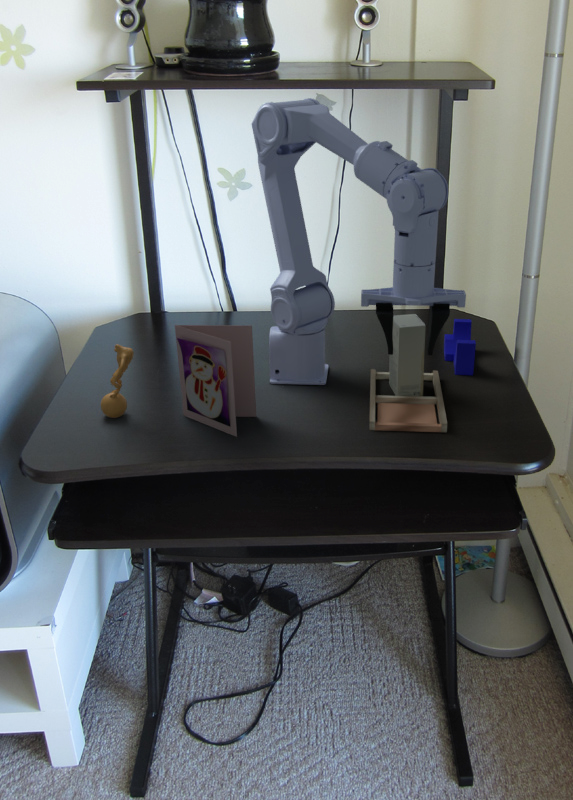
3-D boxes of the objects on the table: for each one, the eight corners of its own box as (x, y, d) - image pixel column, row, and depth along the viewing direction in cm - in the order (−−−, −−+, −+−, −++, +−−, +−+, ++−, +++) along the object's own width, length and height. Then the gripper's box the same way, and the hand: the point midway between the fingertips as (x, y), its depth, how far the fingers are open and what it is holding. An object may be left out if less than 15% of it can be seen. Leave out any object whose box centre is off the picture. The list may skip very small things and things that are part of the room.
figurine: (107, 405, 118) (97, 335, 113) (145, 403, 118) (136, 334, 113) (97, 429, 111) (85, 355, 106) (137, 428, 111) (127, 354, 106)
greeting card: (179, 418, 114) (170, 326, 107) (213, 401, 119) (206, 313, 112) (232, 439, 107) (226, 343, 100) (266, 421, 112) (262, 328, 105)
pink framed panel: (369, 430, 108) (369, 421, 108) (370, 377, 125) (370, 369, 125) (446, 432, 107) (447, 423, 106) (437, 378, 124) (437, 370, 124)
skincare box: (423, 397, 118) (427, 326, 113) (396, 399, 117) (399, 327, 112) (413, 381, 124) (416, 312, 118) (387, 383, 123) (389, 314, 118)
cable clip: (443, 349, 136) (445, 318, 134) (468, 350, 136) (471, 319, 133) (446, 375, 126) (448, 342, 123) (472, 376, 125) (475, 343, 122)
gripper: (361, 269, 99) (359, 362, 105) (471, 269, 97) (463, 363, 103) (362, 255, 105) (360, 343, 111) (465, 255, 104) (458, 345, 110)
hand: (409, 352), depth 108 cm, fingers open, 5 cm apart
